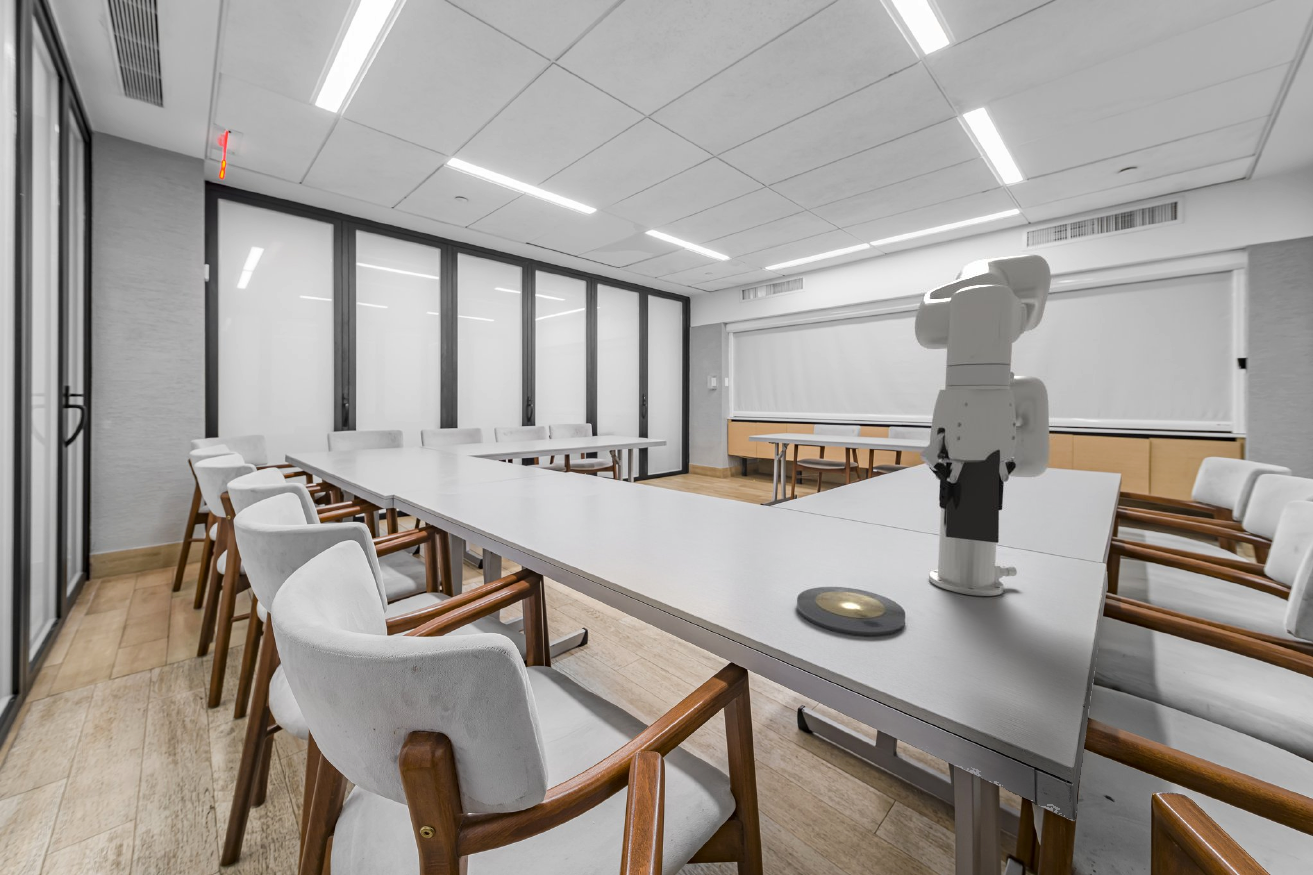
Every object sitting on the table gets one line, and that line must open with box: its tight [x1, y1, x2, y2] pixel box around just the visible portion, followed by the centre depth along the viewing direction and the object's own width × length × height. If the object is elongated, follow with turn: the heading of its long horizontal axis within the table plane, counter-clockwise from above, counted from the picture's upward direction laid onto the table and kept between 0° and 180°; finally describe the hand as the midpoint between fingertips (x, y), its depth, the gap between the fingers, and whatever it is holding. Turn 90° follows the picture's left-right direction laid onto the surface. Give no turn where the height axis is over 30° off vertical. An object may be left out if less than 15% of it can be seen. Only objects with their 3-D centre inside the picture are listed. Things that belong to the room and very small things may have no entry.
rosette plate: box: [796, 586, 906, 637], centre depth 86 cm, size 17×17×2 cm
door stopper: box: [944, 450, 1000, 544], centre depth 71 cm, size 9×6×12 cm, turn 152°
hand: (970, 507), depth 71 cm, fingers closed on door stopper, 5 cm apart
